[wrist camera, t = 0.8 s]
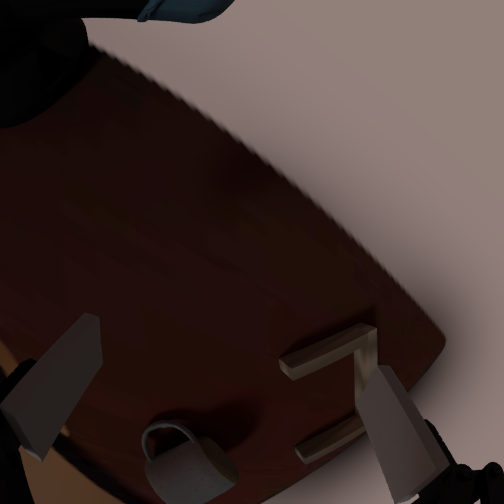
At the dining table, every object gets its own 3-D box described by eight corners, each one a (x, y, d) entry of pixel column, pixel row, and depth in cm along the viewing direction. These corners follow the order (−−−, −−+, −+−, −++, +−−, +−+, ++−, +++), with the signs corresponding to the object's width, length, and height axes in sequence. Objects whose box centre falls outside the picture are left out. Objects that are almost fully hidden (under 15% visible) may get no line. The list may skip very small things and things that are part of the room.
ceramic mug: (231, 452, 28) (253, 492, 21) (180, 479, 25) (193, 521, 18) (179, 402, 26) (192, 447, 18) (123, 433, 23) (122, 480, 16)
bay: (278, 358, 29) (291, 369, 26) (360, 321, 33) (376, 327, 30) (295, 452, 31) (306, 464, 28) (362, 416, 35) (374, 424, 32)
